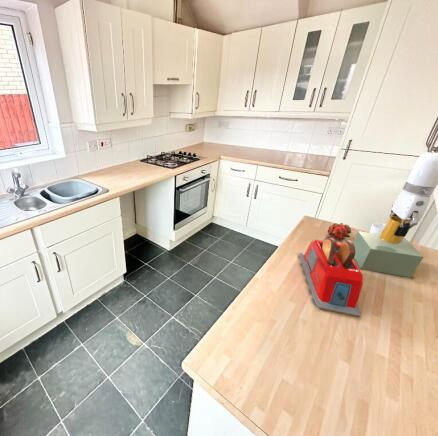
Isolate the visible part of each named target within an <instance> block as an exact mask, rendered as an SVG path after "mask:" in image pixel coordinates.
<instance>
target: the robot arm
mask: <svg viewBox="0 0 438 436" xmlns="http://www.w3.org/2000/svg"><path fill="white" fill-rule="evenodd" d="M437 186H438V152H424V153H421V154H419V157H417V160H416V162H415V164H414V165H413V168H412V169H411V172H410V173H409V175H408V177H407V179H406V181H405V183H404V185H403V186H402V189H401V191H400V193H399V194H398V196H397V197H396V199H395V201H394V203H393V204H392V205H391V210H390V214H389V217H391V216H398V217H400V218H401V219H402V221H401V225H400V226H398V228H397V230H396V231H395V233H394V235H395V236H401V237H404V238H405V237H406V236H407V234H408V233H409V230H410V229H412V228H414V227H415V226H417V225H418V224H419V222H420V221H421V220H422V219H423V216H424V214H425V212H426V210H427V208H428V206H429V204H430V201H431V197H432V195H433V193H434V192H435V189H436V188H437ZM405 221H409V223H406V224H405Z"/></svg>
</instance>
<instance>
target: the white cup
mask: <svg viewBox="0 0 438 436" xmlns="http://www.w3.org/2000/svg"><path fill="white" fill-rule="evenodd" d="M385 225H386V223H383V222H373V223H372V224H371V227H370V229H369V232H368V233H375V234H381V232H382V230H383V229H384V227H385Z"/></svg>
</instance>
